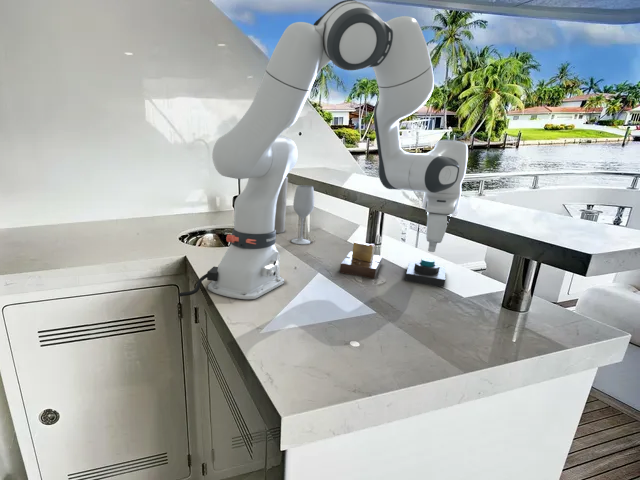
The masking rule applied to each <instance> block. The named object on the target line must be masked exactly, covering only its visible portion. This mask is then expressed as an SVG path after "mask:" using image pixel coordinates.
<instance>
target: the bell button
mask: <svg viewBox="0 0 640 480" xmlns="http://www.w3.org/2000/svg"><path fill="white" fill-rule="evenodd" d="M420 261H421V265H423V266H427V267H434V264H435V263H436V260H435V259H433V258H428V257H422V258H421V260H420Z"/></svg>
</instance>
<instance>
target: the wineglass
mask: <svg viewBox="0 0 640 480" xmlns="http://www.w3.org/2000/svg"><path fill="white" fill-rule="evenodd" d="M292 205H293V210H294V212H295V214H297V216H298V217H299V218H300V220H301V221H300V222H301V223H300V224H301V225H300V235H299V237H298V238H293V239H291V243H293V244H295V245H309V244H311V240H309V239H305V238H304V237H303V231H304V220H305V218H307V217H308V216H309V215H311V213H312V212H313V210H314V208H315V190H314V186H313V185H304V184H303V185H302V184H301V185H296V188H295V192H294V196H293V203H292Z"/></svg>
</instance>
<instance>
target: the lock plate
mask: <svg viewBox="0 0 640 480" xmlns="http://www.w3.org/2000/svg"><path fill="white" fill-rule="evenodd" d="M352 253H353V251H349V252H348V253H347V255H346V256H345V258H343V260H342V262H341V263H340V268H339V273H340V274H344V275H345V274H346V275H352V276H356V277H357V276H358V277H362V278H368V279H375V278H376V276H377V274H378V272H379V270H380V268H381V266H382V261H383V255H378V254H374V257H373V261H372V262H367V261H363V260H359V259H354V258H352Z"/></svg>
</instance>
